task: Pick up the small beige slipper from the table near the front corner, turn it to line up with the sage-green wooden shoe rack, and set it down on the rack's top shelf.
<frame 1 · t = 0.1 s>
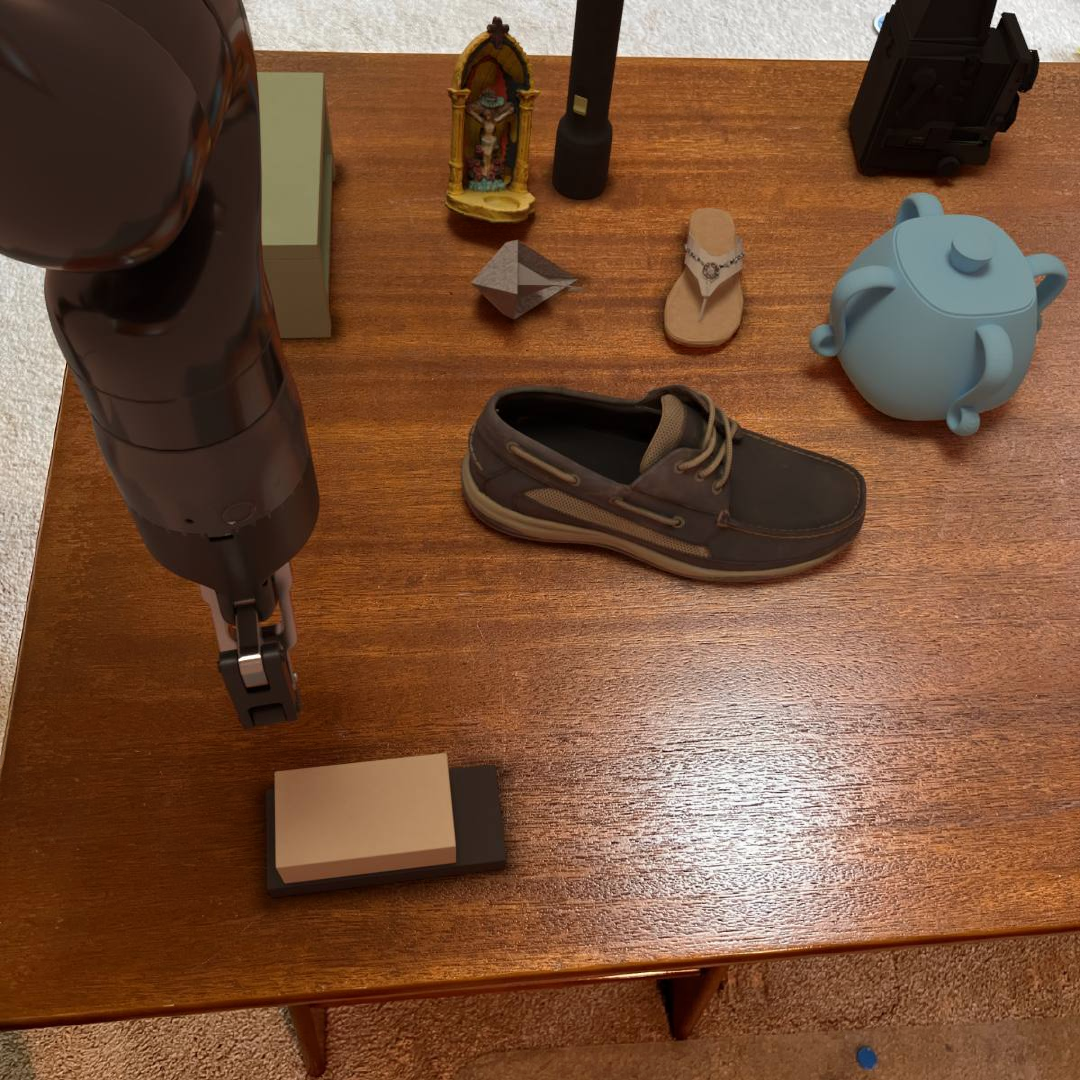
hand: (272, 634, 56), 16 cm above the table, tool pointing down, fingers open, 8 cm apart
paper boat: (524, 313, 90), on the table
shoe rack: (261, 250, 92), on the table
decorative pot: (908, 367, 90), on the table
flashlight: (578, 182, 99), on the table
camera: (916, 153, 104), on the table
sandal: (701, 290, 93), on the table
shrine: (490, 208, 96), on the table
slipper: (387, 834, 66), on the table
boat shoe: (655, 519, 80), on the table
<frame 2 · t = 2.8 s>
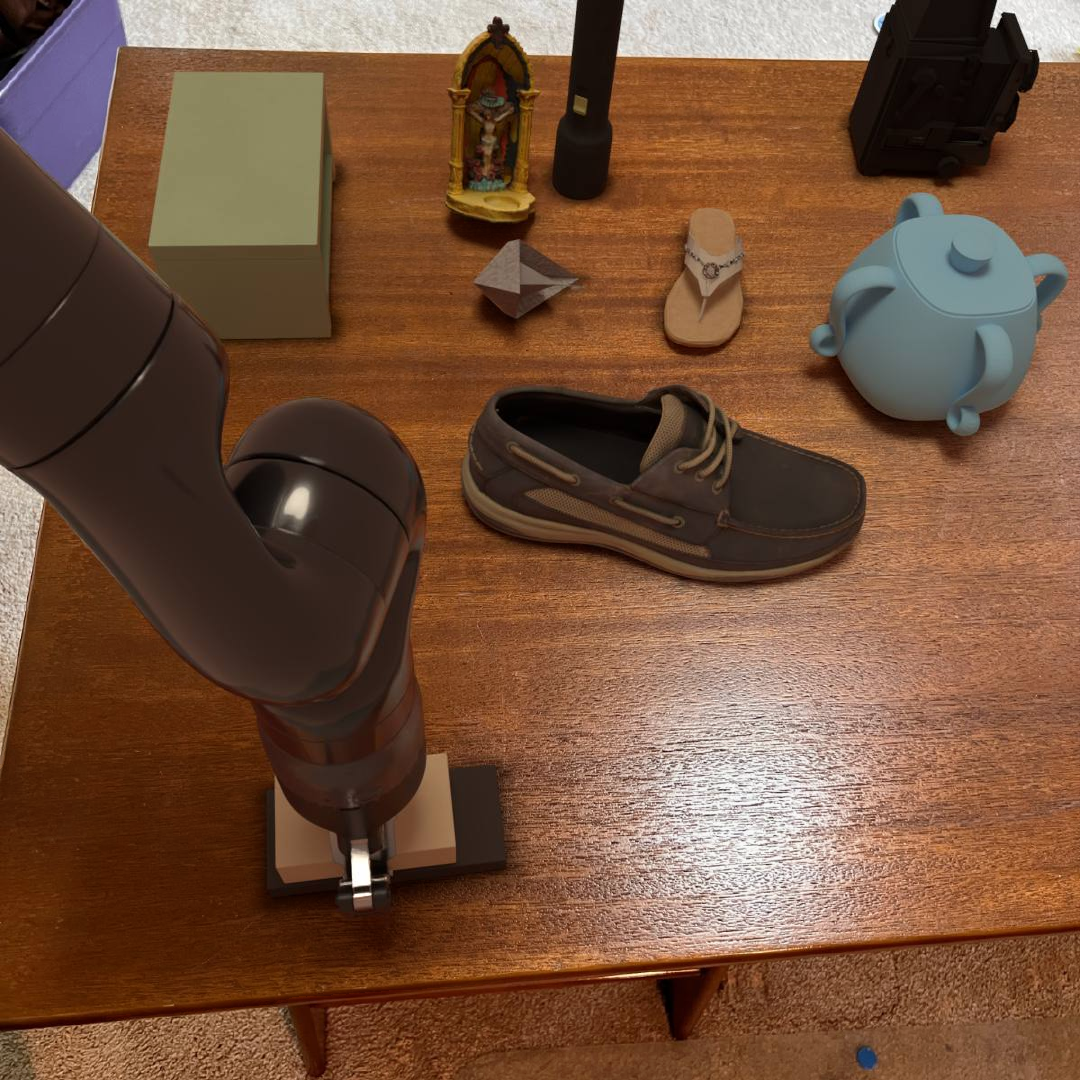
hand: (369, 830, 65), 1 cm above the table, tool pointing down, fingers closed on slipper, 6 cm apart
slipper: (387, 834, 66), on the table, touching gripper
everything else where it was.
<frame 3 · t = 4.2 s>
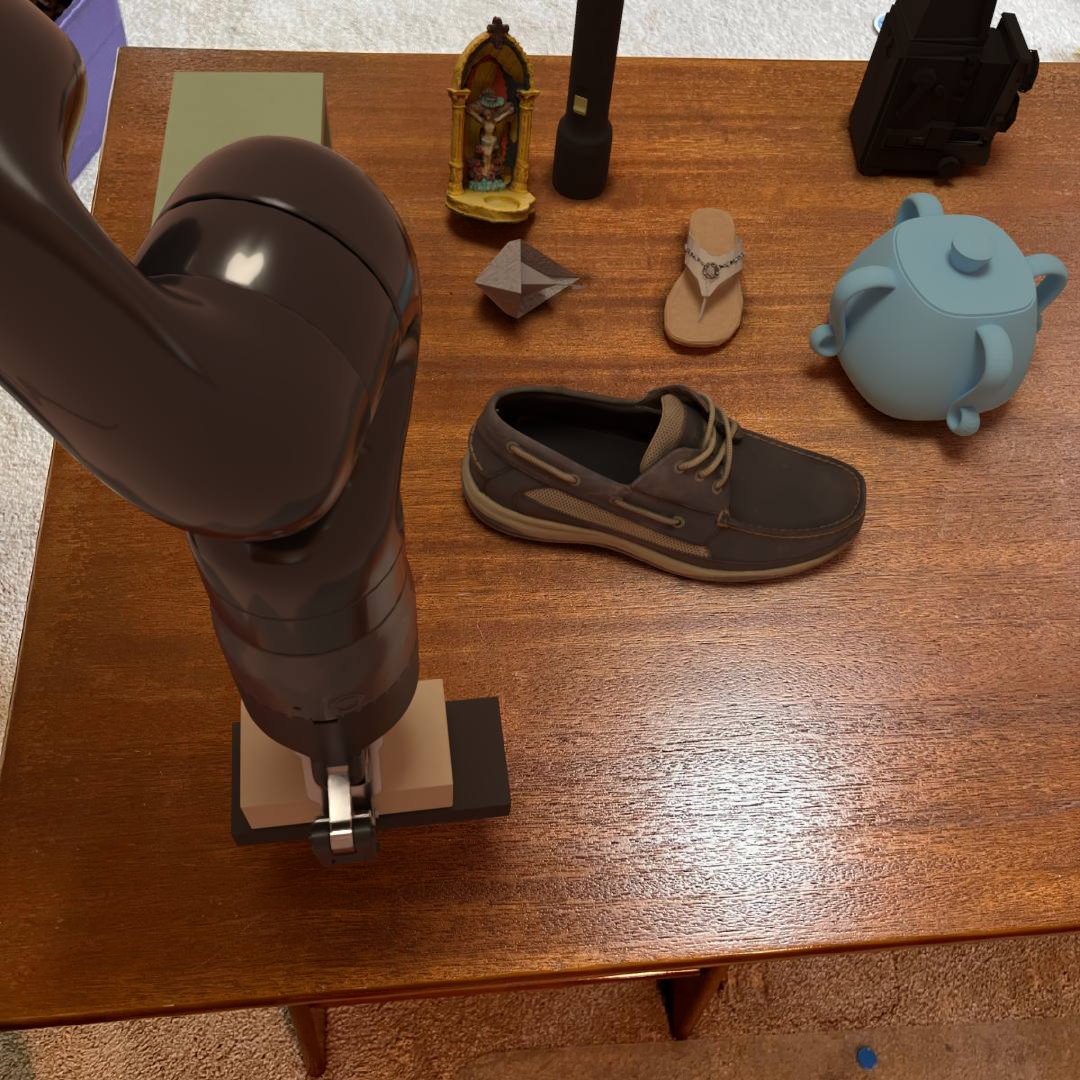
hand: (352, 770, 56), 12 cm above the table, tool pointing down, fingers closed on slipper, 6 cm apart
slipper: (372, 775, 57), point 11 cm above the table, touching gripper
everything else where it was.
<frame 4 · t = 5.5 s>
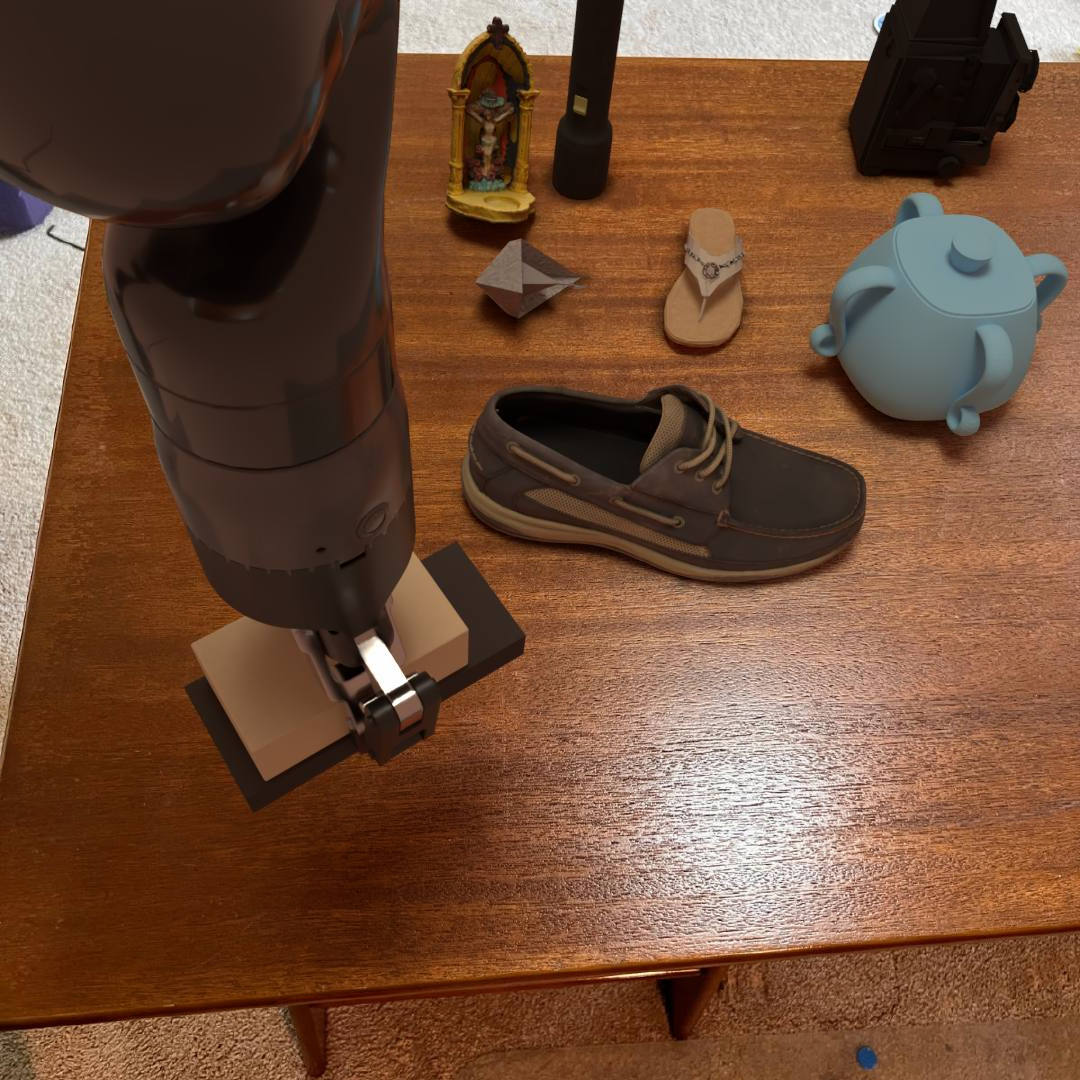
hand: (341, 679, 48), 22 cm above the table, tool pointing down, fingers closed on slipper, 6 cm apart
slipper: (362, 678, 50), point 20 cm above the table, touching gripper
everything else where it was.
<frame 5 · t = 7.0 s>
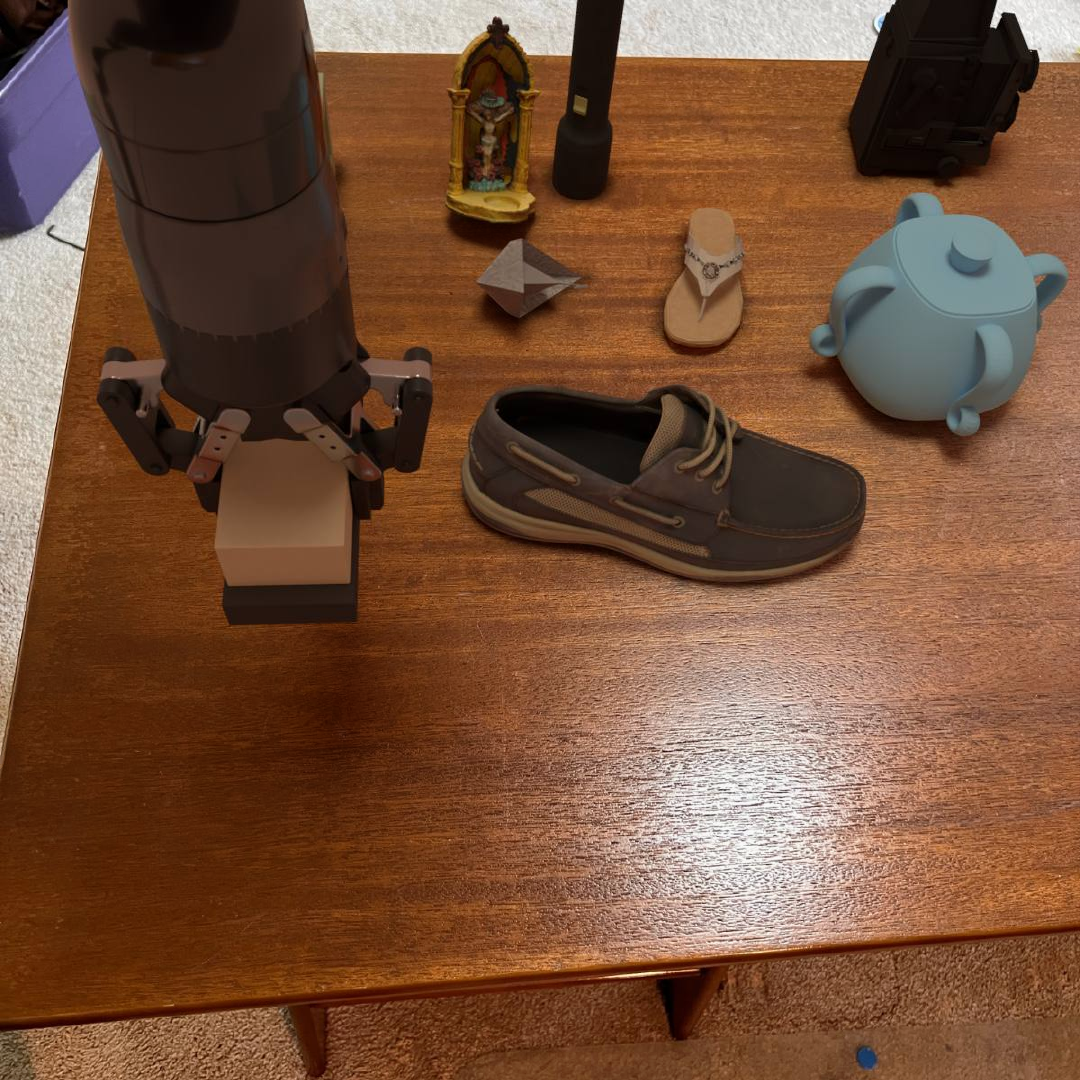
hand: (297, 505, 53), 21 cm above the table, tool pointing down, fingers closed on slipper, 6 cm apart
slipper: (300, 501, 55), point 20 cm above the table, touching gripper
everything else where it was.
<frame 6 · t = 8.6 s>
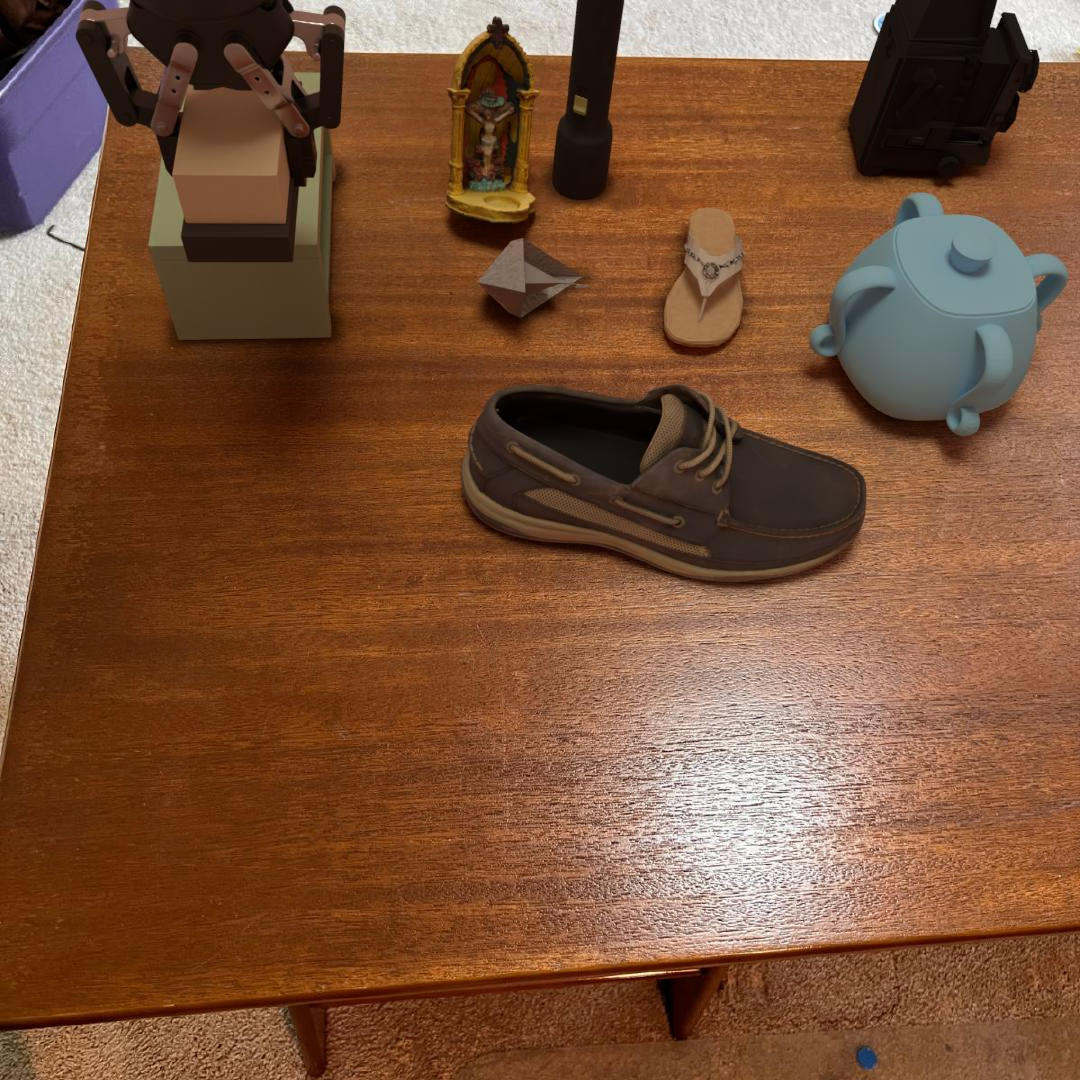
hand: (245, 176, 65), 22 cm above the table, tool pointing down, fingers closed on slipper, 6 cm apart
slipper: (250, 180, 66), point 21 cm above the table, touching gripper
everything else where it was.
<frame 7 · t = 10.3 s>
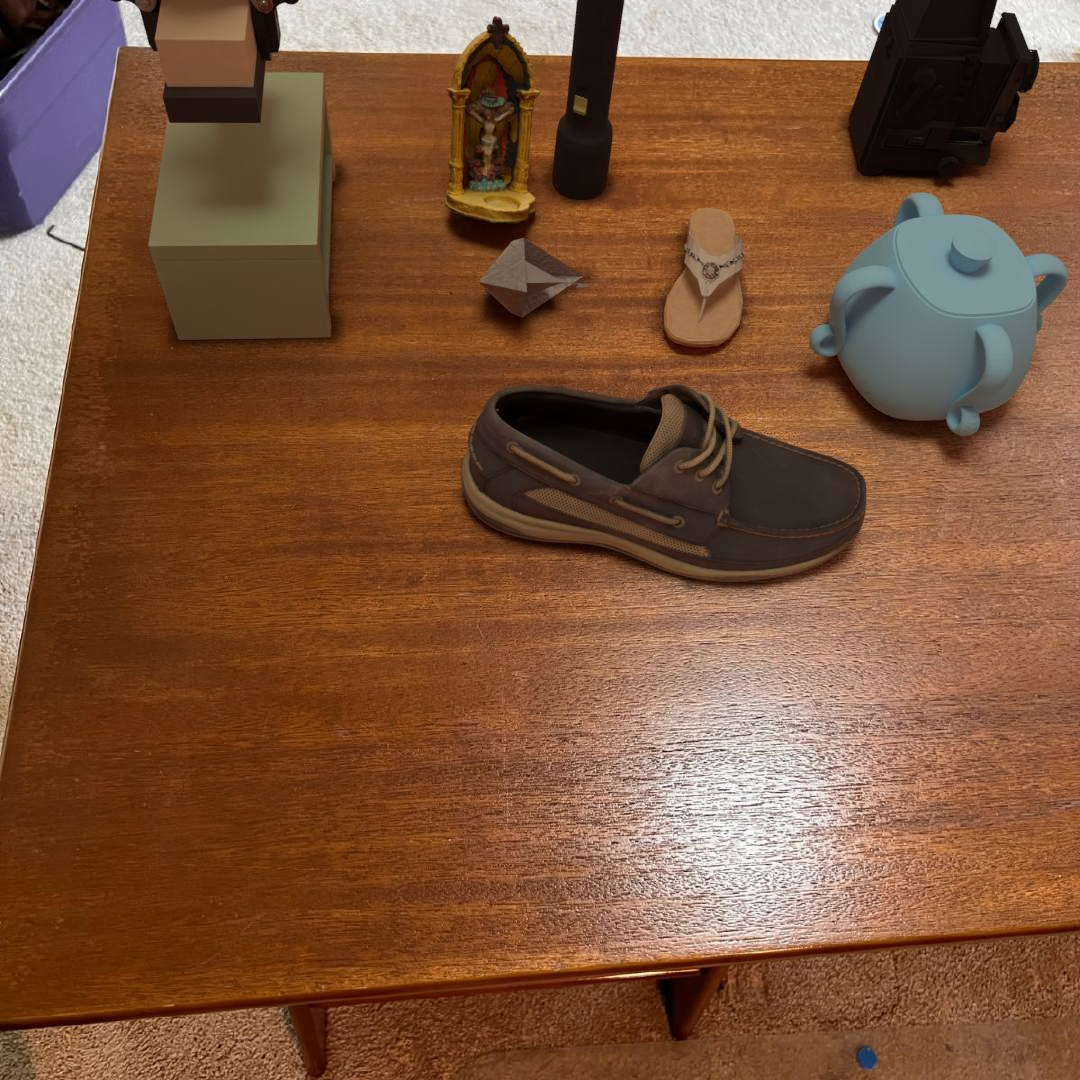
hand: (218, 52, 75), 19 cm above the table, tool pointing down, fingers closed on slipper, 6 cm apart
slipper: (222, 58, 76), point 18 cm above the table, touching gripper
everything else where it was.
when the fingers open (11 cm above the table, at t = 12.7 s): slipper stays where it is, resting on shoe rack.
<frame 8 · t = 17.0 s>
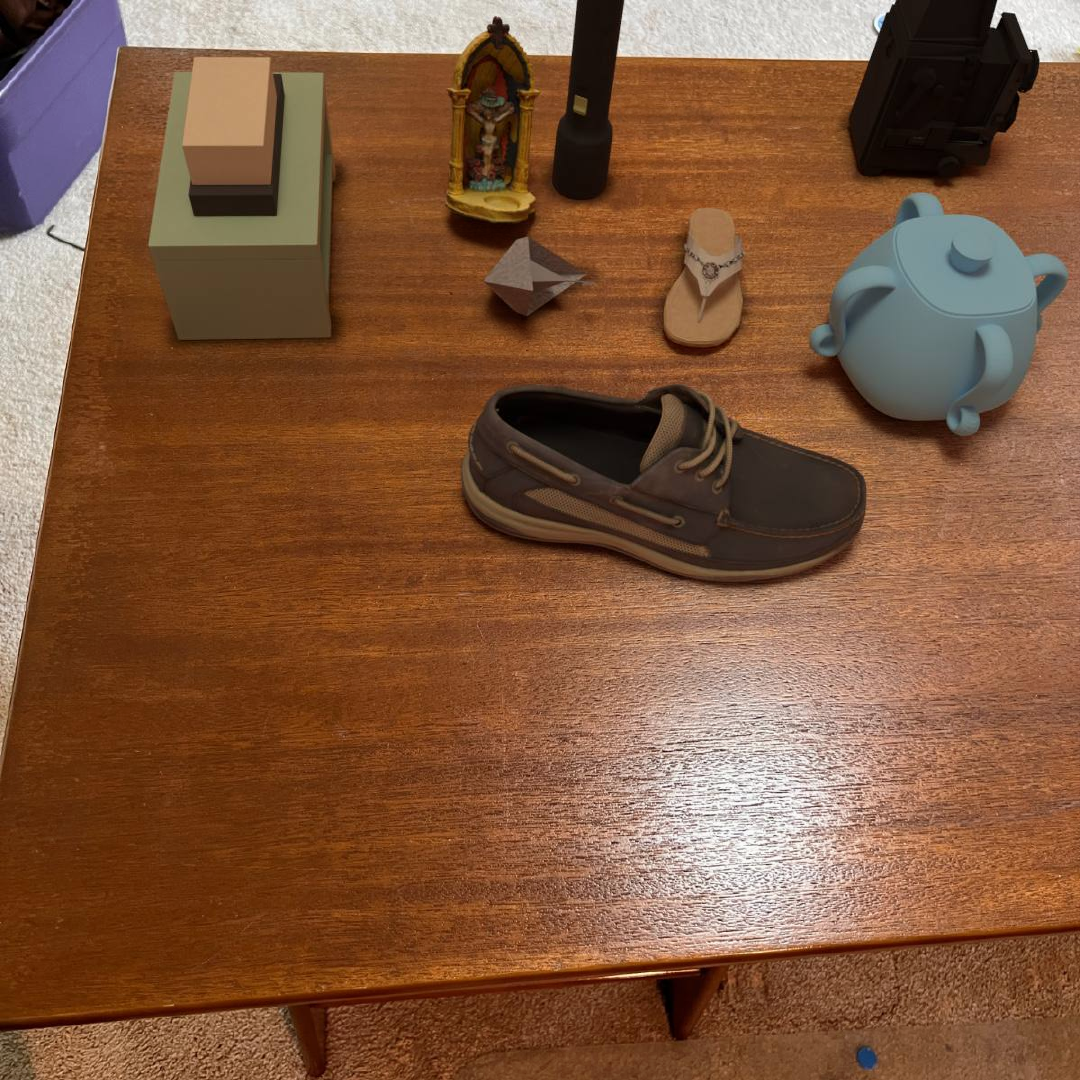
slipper: (241, 153, 83), point 10 cm above the table, touching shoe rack
at the end: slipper inside the target area on the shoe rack (0.0 cm from its centre), point 10.0 cm above the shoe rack's base; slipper tilted 0° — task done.
